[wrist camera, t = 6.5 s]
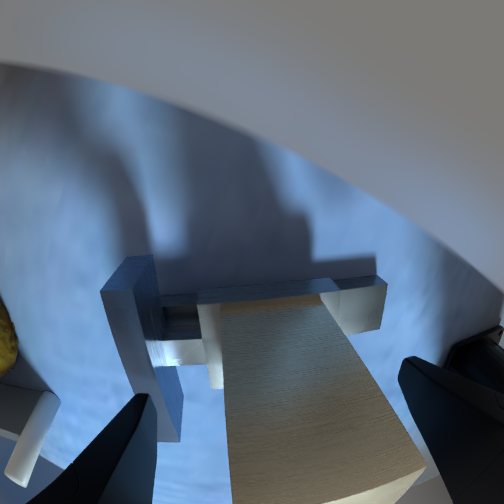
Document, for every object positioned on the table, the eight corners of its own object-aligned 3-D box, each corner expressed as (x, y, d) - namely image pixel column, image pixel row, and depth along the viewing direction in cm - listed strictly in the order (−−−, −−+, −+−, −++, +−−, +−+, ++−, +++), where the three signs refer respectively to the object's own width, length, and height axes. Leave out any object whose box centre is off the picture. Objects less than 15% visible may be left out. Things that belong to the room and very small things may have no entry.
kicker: (331, 240, 11) (496, 389, 3) (319, 380, 13) (382, 526, 5) (127, 256, 10) (4, 442, 2) (163, 394, 12) (146, 553, 4)
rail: (377, 275, 13) (387, 283, 12) (370, 318, 14) (379, 329, 13) (157, 296, 12) (152, 307, 11) (167, 341, 13) (164, 354, 12)
